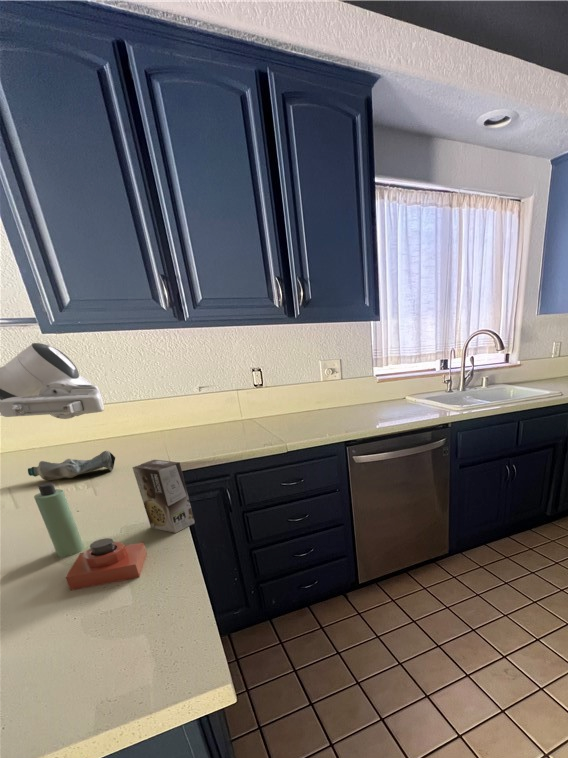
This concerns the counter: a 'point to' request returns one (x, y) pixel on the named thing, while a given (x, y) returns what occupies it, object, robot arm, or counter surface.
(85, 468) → the crushed plastic bottle
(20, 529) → the counter surface
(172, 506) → the coffee box
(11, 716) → the counter surface
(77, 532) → the refill bottle
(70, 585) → the reddish-brown angled base
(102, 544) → the grey button cap
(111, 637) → the counter surface
